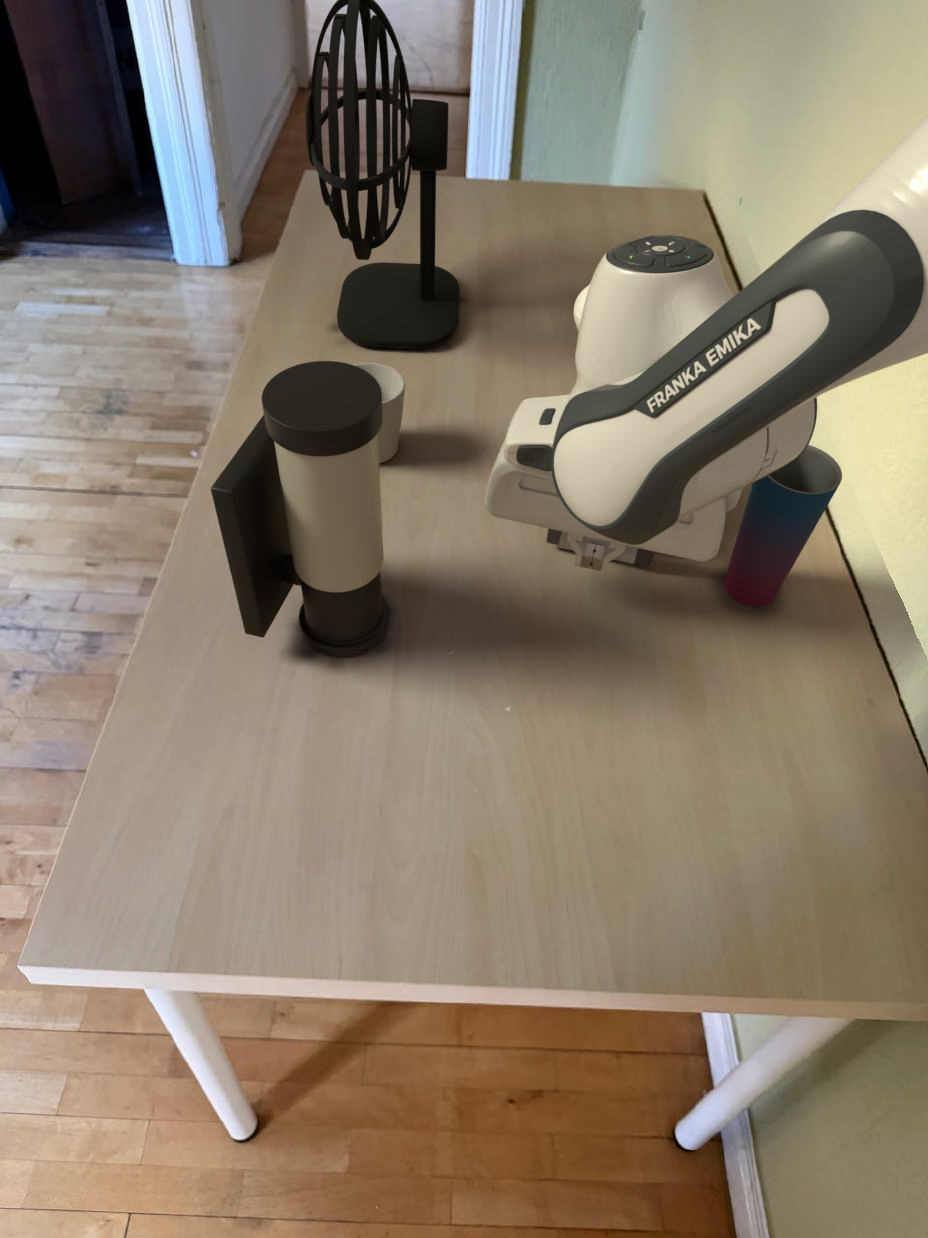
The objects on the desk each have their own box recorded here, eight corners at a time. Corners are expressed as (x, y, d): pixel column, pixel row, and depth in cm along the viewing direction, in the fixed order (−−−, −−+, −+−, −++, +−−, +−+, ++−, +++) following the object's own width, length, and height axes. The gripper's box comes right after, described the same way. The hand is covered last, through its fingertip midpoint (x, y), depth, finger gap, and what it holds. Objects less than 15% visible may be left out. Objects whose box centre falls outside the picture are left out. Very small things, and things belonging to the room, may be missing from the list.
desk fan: (337, 256, 124) (314, -46, 98) (460, 261, 125) (471, -39, 98) (313, 364, 107) (277, 31, 80) (457, 370, 107) (469, 40, 80)
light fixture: (366, 683, 76) (347, 458, 57) (248, 654, 77) (193, 425, 59) (409, 586, 83) (405, 359, 65) (301, 561, 85) (267, 332, 66)
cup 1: (407, 470, 94) (406, 404, 88) (313, 472, 94) (305, 405, 87) (405, 427, 99) (404, 361, 93) (316, 428, 98) (309, 362, 92)
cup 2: (794, 580, 86) (852, 460, 74) (771, 624, 82) (828, 504, 70) (729, 552, 88) (775, 431, 77) (703, 594, 84) (748, 473, 73)
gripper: (753, 444, 69) (709, 565, 80) (504, 395, 72) (493, 518, 83) (748, 495, 65) (702, 615, 76) (484, 441, 68) (475, 564, 79)
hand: (591, 564), depth 79 cm, fingers closed
